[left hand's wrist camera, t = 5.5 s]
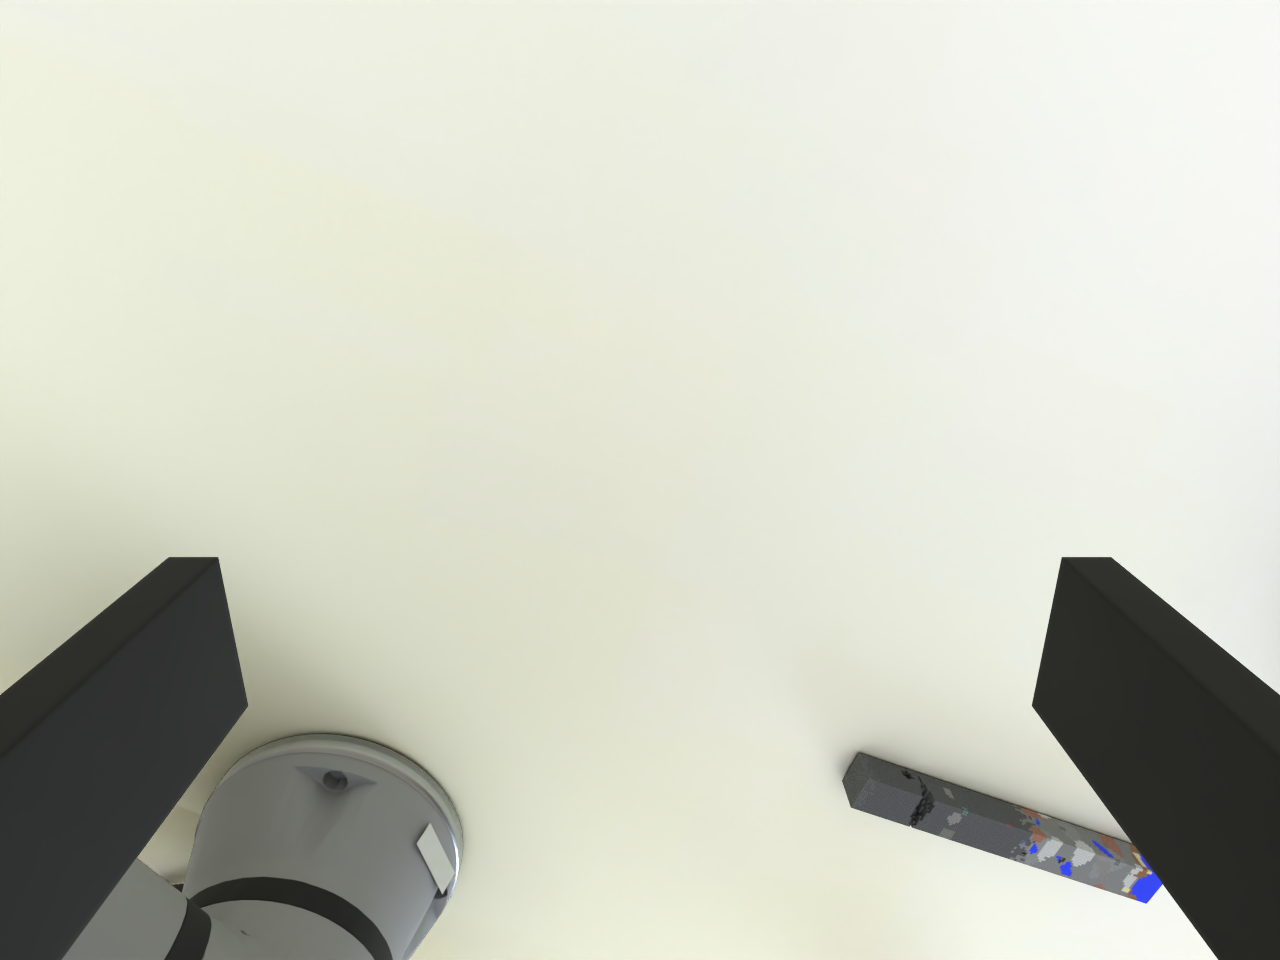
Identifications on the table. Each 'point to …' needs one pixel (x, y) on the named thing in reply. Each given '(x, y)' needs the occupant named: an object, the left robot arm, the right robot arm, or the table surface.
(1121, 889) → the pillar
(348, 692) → the table surface
